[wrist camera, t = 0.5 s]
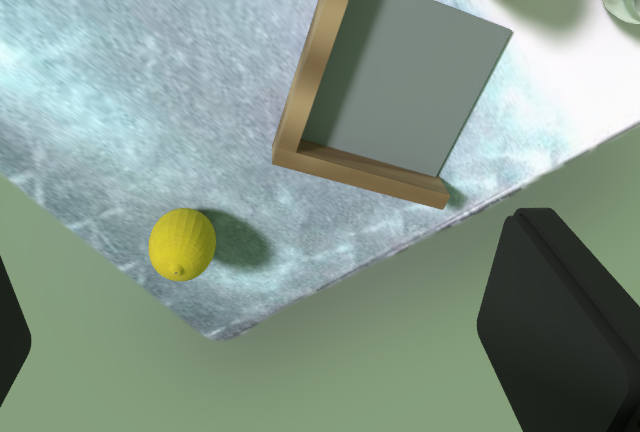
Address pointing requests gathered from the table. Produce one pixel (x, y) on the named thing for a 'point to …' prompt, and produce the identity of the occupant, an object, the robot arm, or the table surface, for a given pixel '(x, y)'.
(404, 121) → the mat
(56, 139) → the table surface
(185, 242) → the lemon
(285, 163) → the corner walls
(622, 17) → the plastic bottle
